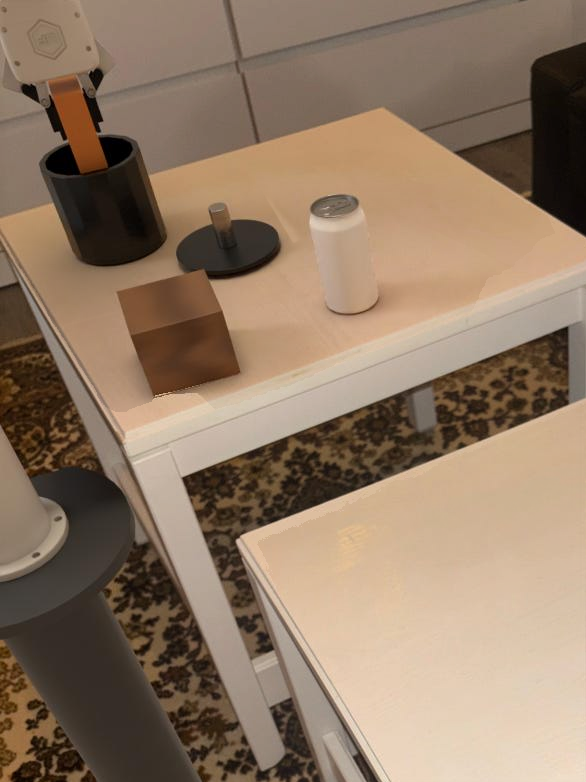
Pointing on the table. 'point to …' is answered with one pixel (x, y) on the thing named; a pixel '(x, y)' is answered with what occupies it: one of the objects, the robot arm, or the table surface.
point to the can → (343, 253)
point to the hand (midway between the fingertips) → (80, 131)
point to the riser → (179, 332)
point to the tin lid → (227, 244)
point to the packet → (77, 124)
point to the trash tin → (105, 202)
